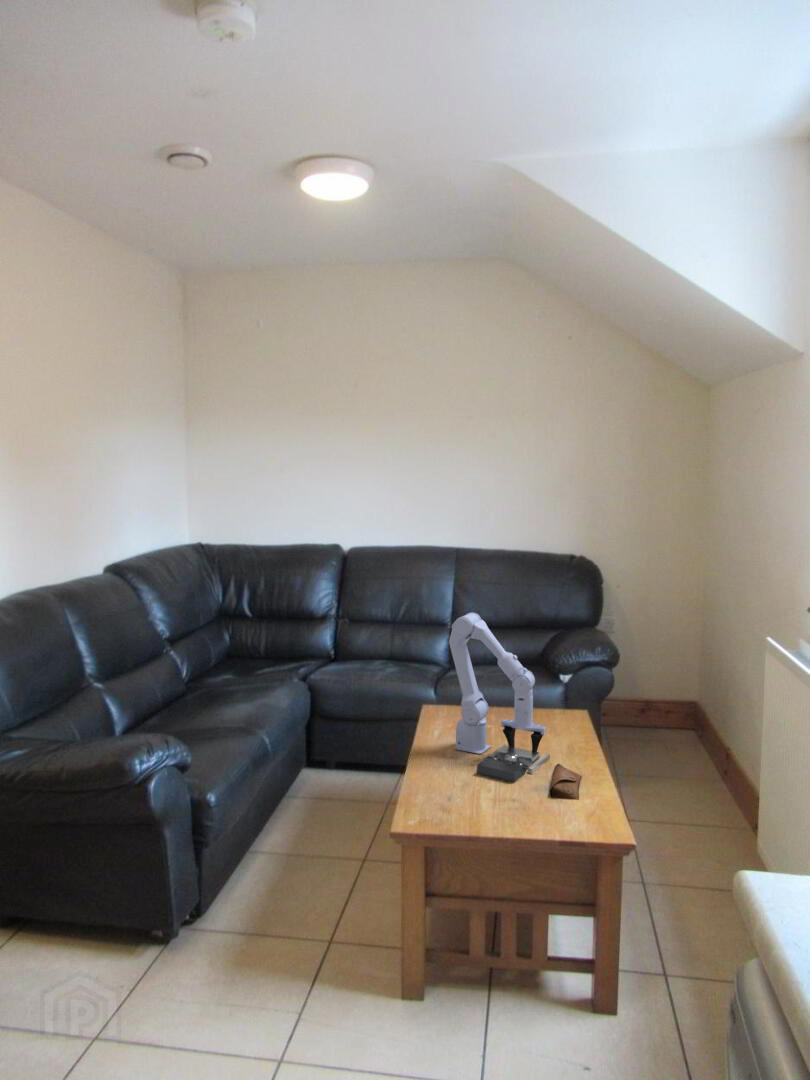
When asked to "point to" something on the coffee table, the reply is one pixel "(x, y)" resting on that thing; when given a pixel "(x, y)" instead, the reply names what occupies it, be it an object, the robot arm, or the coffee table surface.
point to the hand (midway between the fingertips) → (523, 752)
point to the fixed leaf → (501, 769)
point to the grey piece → (517, 755)
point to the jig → (535, 765)
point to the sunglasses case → (564, 783)
